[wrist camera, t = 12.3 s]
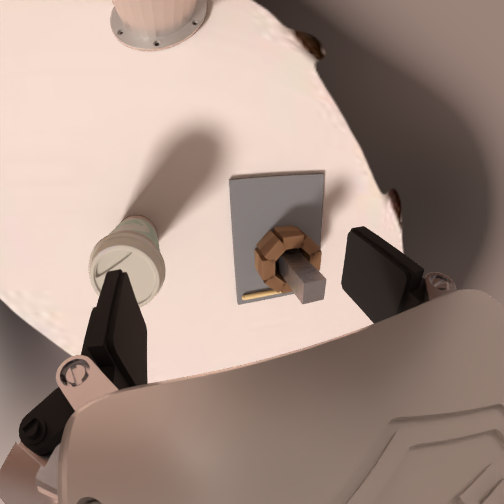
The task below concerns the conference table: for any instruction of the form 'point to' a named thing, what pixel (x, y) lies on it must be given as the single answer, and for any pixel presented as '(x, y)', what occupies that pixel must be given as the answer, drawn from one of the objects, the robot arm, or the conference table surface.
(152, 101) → the conference table surface
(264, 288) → the mat
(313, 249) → the brown wooden ring
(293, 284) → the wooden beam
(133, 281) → the coffee cup
